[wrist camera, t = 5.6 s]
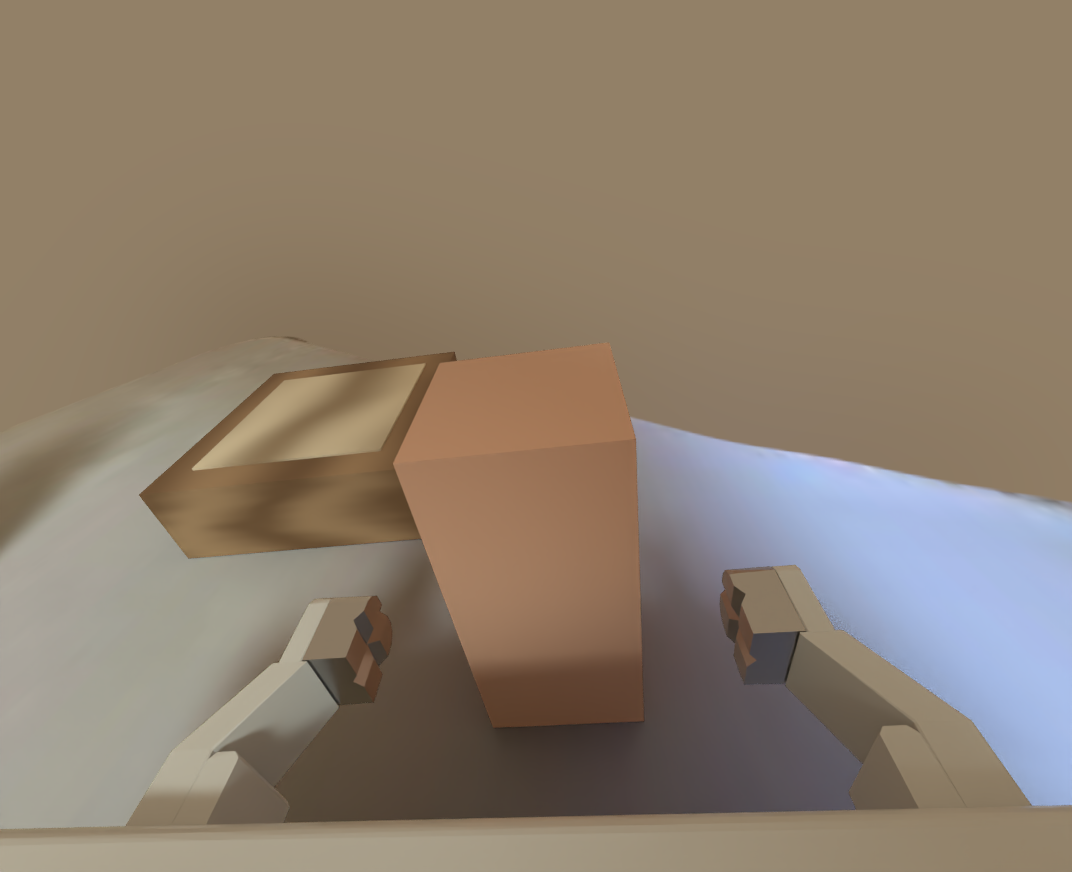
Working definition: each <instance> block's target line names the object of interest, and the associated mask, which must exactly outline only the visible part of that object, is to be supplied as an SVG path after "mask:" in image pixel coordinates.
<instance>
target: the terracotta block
mask: <svg viewBox="0 0 1072 872" xmlns="http://www.w3.org/2000/svg"><path fill="white" fill-rule="evenodd" d="M393 465H394V468H395V471H396V473H397V476H398V478H399V481H400V484H401V486H402V489H403V492H404V494H405V497H406V500H407V502H408V505H409V507H410V510H411V513H412V515H413V518H414V521H415V523H416V526H417V529H418V531H419V534H420V536H421V539H422V542H423V544H424V547H425V550H426V552H427V555H428V557H429V560H430V563H431V565H432V568H433V571H434V573H435V576H436V579H437V581H438V584H439V586H440V589H441V592H442V594H443V597H444V600H445V602H446V605H447V607H448V610H449V613H450V615H451V618H452V621H453V623H454V626H455V629H456V631H457V634H458V636H459V639H460V642H461V644H462V647H463V650H464V652H465V655H466V658H467V660H468V663H469V665H470V668H471V671H472V673H473V676H474V679H475V681H476V684H477V686H478V689H479V692H480V694H481V697H482V700H483V702H484V705H485V708H486V710H487V713H488V715H489V718H490V721H491V723H492V726H493V728H502V727H525V726H548V725H570V724H593V723H616V722H638V721H644V704H643V669H642V634H641V600H640V565H639V530H638V495H637V461H636V438H635V434H634V430H633V427H632V423H631V420H630V416H629V412H628V409H627V405H626V402H625V398H624V395H623V391H622V387H621V384H620V380H619V376H618V373H617V369H616V366H615V362H614V358H613V355H612V351H611V348H610V344H609V343H601V344H593V345H584V346H577V347H569V348H560V349H551V350H543V351H535V352H527V353H519V354H510V355H503V356H495V357H486V358H477V359H469V360H462V361H453V362H444V363H440V364H439V366H438V368H437V370H436V372H435V374H434V377H433V379H432V381H431V383H430V385H429V387H428V389H427V392H426V394H425V396H424V398H423V400H422V402H421V404H420V407H419V409H418V411H417V413H416V415H415V417H414V419H413V422H412V424H411V426H410V428H409V430H408V432H407V434H406V437H405V439H404V441H403V443H402V445H401V447H400V449H399V452H398V454H397V456H396V458H395V460H394V462H393Z"/></svg>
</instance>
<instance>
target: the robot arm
mask: <svg viewBox="0 0 1072 872" xmlns="http://www.w3.org/2000/svg"><path fill="white" fill-rule="evenodd" d="M722 583H723V585H724V588H725V590H724V591H723V592H722V593H721V594H720V611H721V618H722V622H723V626H724V629H725V632H726V635H727V637H728V638H729V639H731V640H732V641H733V642H734V643H735V648H734V658H735V661H736V664H737V667H738V669H739V672H740V675H741V678H742V681H743V683H744V685H752V684H786V685H785V686H786V687H787V688H788V689H789V690H790V691H791V692H792V693H793V694H794V695H795V696H796V697H797V698H798V699H799V700H800V701H801V702H802V703H803V704H804V705H805V706H806V707H807V708H808V709H809V710H810V711H811V712H812V713H813V714H814V715H815V716H816V717H817V718H818V719H819V720H820V721H821V722H822V723H823V724H824V725H825V726H826V727H827V728H828V729H829V730H830V731H831V733H832V734H833V735H834V736H835V737H836V738H837V739H838V740H839V741H840V742H841V743H842V744H843V745H844V746H845V747H846V748H847V749H848V750H849V751H850V752H851V753H852V754H853V755H854V756H855V757H856V758H857V759H858V760H859V761H860V762H861V763H862V764H863V765H862V767H861V769H860V771H859V773H858V775H857V777H856V779H855V780H854V782H853V784H852V786H851V788H850V790H849V794H850V797H851V799H852V801H853V804H854V806H855V808H856V810H828V811H783V812H738V813H693V814H648V815H603V816H558V817H513V818H468V819H424V820H380V821H336V822H292V823H284V821H285V818H286V815H287V813H288V810H289V804H288V801H287V800H286V799H285V798H284V797H283V796H282V795H281V794H280V793H279V792H278V791H277V790H276V789H275V788H274V787H275V786H276V784H277V783H278V782H279V781H280V779H281V778H282V777H283V776H284V774H285V773H286V772H287V771H288V770H289V768H290V767H291V766H292V765H293V763H294V762H295V761H296V760H297V759H298V757H299V756H300V755H301V754H302V752H303V751H304V750H305V749H306V747H307V746H308V745H309V744H310V743H311V741H312V740H313V739H314V738H315V736H316V735H317V734H318V733H319V732H320V730H321V729H322V728H323V727H324V725H325V724H326V723H327V722H328V720H329V719H330V718H331V717H332V716H333V714H334V713H335V712H336V711H337V709H338V708H339V706H338V705H348V704H361V703H374V700H375V697H376V694H377V690H378V687H379V684H380V681H381V678H382V672H381V669H380V667H379V665H380V664H381V663H382V662H383V661H384V660H385V659H386V658H387V657H388V655H389V651H390V648H391V644H392V627H391V622H390V620H389V618H388V616H386V615H385V614H383V613H381V612H380V609H381V606H382V604H381V602H380V601H379V599H378V597H377V596H364V597H341V598H323V599H314V600H313V601H312V602H311V603H310V604H309V605H308V606H307V608H306V610H305V612H304V614H303V616H302V618H301V620H300V622H299V624H298V626H297V628H296V630H295V632H294V634H293V636H292V638H291V640H290V642H289V643H288V645H287V647H286V649H285V651H284V653H283V655H282V657H281V659H280V661H279V663H272V664H271V665H270V666H269V667H268V668H267V669H265V670H264V671H263V672H262V673H261V674H260V675H258V676H257V677H256V678H255V679H254V680H253V681H252V682H250V683H249V684H248V685H247V686H246V687H245V688H244V689H242V690H241V691H240V692H239V693H238V694H237V695H235V696H234V697H233V698H232V699H231V700H230V701H229V702H227V703H226V704H225V705H224V706H223V707H222V708H220V709H219V710H218V711H217V712H216V713H215V714H214V715H212V716H211V717H210V718H209V719H208V720H207V721H206V722H204V723H203V724H202V725H201V726H200V727H199V728H197V729H196V730H195V731H194V732H193V733H192V734H191V735H189V736H188V737H187V738H186V739H185V740H184V741H182V742H181V743H180V744H179V745H178V746H177V747H176V748H174V749H173V750H172V751H171V752H170V754H169V756H168V757H167V759H166V761H165V762H164V764H163V765H162V767H161V769H160V770H159V772H158V774H157V775H156V777H155V779H154V780H153V782H152V783H151V785H150V787H149V788H148V790H147V792H146V793H145V795H144V797H143V798H142V800H141V801H140V803H139V805H138V806H137V808H136V810H135V811H134V813H133V815H132V816H131V818H130V819H129V821H128V823H127V824H126V826H117V827H74V828H32V829H0V872H1072V805H1053V806H1032V805H1031V804H1030V802H1029V801H1028V799H1027V798H1026V797H1025V795H1024V794H1023V792H1022V791H1021V790H1020V788H1019V787H1018V785H1017V784H1016V783H1015V781H1014V780H1013V778H1012V777H1011V775H1010V774H1009V773H1008V771H1007V770H1006V768H1005V767H1004V766H1003V764H1002V763H1001V761H1000V760H999V759H998V757H997V756H996V754H995V753H994V752H993V750H992V749H991V747H990V746H989V744H988V743H987V742H986V740H985V739H984V737H983V736H982V735H981V733H980V732H979V730H978V729H977V728H976V726H975V725H974V723H973V722H972V721H971V720H970V719H968V718H967V717H966V716H964V715H963V714H961V713H960V712H958V711H957V710H956V709H954V708H953V707H951V706H950V705H948V704H947V703H946V702H944V701H943V700H941V699H940V698H939V697H937V696H936V695H934V694H933V693H931V692H930V691H929V690H927V689H926V688H924V687H923V686H921V685H920V684H919V683H917V682H916V681H914V680H913V679H912V678H910V677H909V676H907V675H906V674H904V673H903V672H902V671H900V670H899V669H897V668H896V667H895V666H893V665H892V664H890V663H889V662H887V661H886V660H885V659H883V658H882V657H880V656H879V655H877V654H876V653H875V652H873V651H872V650H870V649H869V648H868V647H866V646H865V645H863V644H862V643H860V642H859V641H858V640H856V639H855V638H853V637H852V636H851V635H849V634H848V633H846V632H845V631H843V630H835V629H834V627H833V625H832V624H831V622H830V620H829V618H828V617H827V615H826V613H825V612H824V610H823V608H822V606H821V605H820V603H819V601H818V599H817V598H816V596H815V594H814V592H813V591H812V589H811V587H810V585H809V584H808V582H807V580H806V578H805V577H804V575H803V573H802V572H801V570H800V568H798V567H797V566H796V565H788V566H774V567H769V566H767V567H756V568H744V569H732V570H725V571H724V573H723V577H722Z"/></svg>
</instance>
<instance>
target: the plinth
mask: <svg viewBox="0 0 1072 872" xmlns="http://www.w3.org/2000/svg"><path fill="white" fill-rule="evenodd" d="M453 361H457V360H456V356H455V352H449V353H440V354H433V355H424V356H416V357H409V358H400V359H392V360H384V361H375V362H367V363H359V364H351V365H343V366H335V367H327V368H319V369H310V370H302V371H294V372H286V373H278V374H274V375H272V376H271V377H270V378H269V379H268V380H267V381H266V382H265V383H263V384H262V385H261V386H260V387H259V388H258V389H257V390H256V391H255V392H253V393H252V394H251V395H250V396H249V397H248V398H247V399H246V400H244V401H243V402H242V403H241V404H240V405H239V406H238V407H237V408H236V409H234V410H233V411H232V412H231V413H230V414H229V415H228V416H227V417H225V418H224V419H223V420H222V421H221V422H220V423H219V424H218V425H217V426H215V427H214V428H213V429H212V430H211V431H210V432H209V433H208V434H206V435H205V436H204V437H203V438H202V439H201V440H200V441H199V442H198V443H196V444H195V445H194V446H193V447H192V448H191V449H190V450H189V451H187V452H186V453H185V454H184V455H183V456H182V457H181V458H180V459H179V460H177V461H176V462H175V463H174V464H173V465H172V466H171V467H170V468H168V469H167V470H166V471H165V472H164V473H163V474H162V475H161V476H160V477H158V478H157V479H156V480H155V481H154V482H153V483H152V484H151V485H150V486H148V487H147V488H146V489H145V490H144V491H143V492H142V493H141V494H139V496H140V497H141V498H142V500H143V501H144V502H145V503H146V505H147V506H148V507H149V509H150V510H151V511H152V512H153V514H154V515H155V516H156V518H157V519H158V520H159V521H160V523H161V524H162V525H163V526H164V528H165V529H166V530H167V532H168V533H169V534H170V535H171V537H172V538H173V539H174V541H175V542H176V543H177V544H178V546H179V547H180V548H181V550H182V551H183V552H184V553H185V555H186V556H187V557H188V558H200V557H211V556H223V555H235V554H247V553H259V552H270V551H282V550H294V549H306V548H318V547H329V546H341V545H353V544H365V543H377V542H388V541H400V540H412V539H421V536H420V534H419V531H418V529H417V526H416V523H415V521H414V518H413V515H412V513H411V510H410V507H409V505H408V502H407V500H406V497H405V494H404V492H403V489H402V486H401V484H400V481H399V478H398V476H397V473H396V471H395V468H394V465H393V462H394V460H395V458H396V456H397V454H398V452H399V449H400V447H401V445H402V443H403V441H404V439H405V437H406V434H407V432H408V430H409V428H410V426H411V424H412V422H413V419H414V417H415V415H416V413H417V411H418V409H419V407H420V404H421V402H422V400H423V398H424V396H425V394H426V392H427V389H428V387H429V385H430V383H431V381H432V379H433V377H434V374H435V372H436V370H437V368H438V366H439V364H440V363H444V362H453Z"/></svg>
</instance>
